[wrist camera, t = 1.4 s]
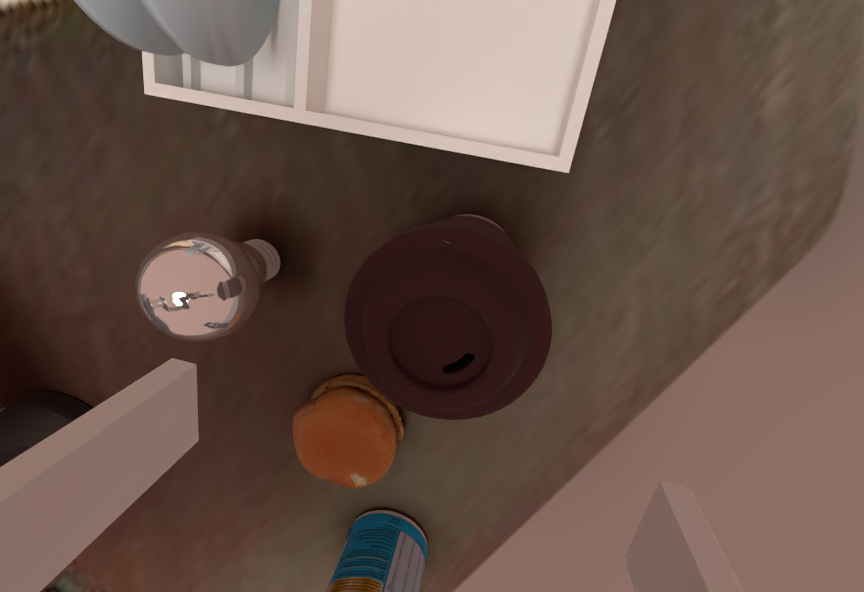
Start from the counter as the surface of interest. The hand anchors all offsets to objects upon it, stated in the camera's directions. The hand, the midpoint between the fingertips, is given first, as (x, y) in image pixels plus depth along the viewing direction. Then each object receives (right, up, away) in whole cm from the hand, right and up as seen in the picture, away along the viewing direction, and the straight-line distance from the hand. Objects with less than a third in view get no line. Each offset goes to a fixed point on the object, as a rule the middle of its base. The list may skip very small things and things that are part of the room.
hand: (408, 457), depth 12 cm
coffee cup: (+3, +7, +21) cm, 22 cm away
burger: (-6, -7, +28) cm, 29 cm away
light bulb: (-13, +8, +23) cm, 28 cm away
